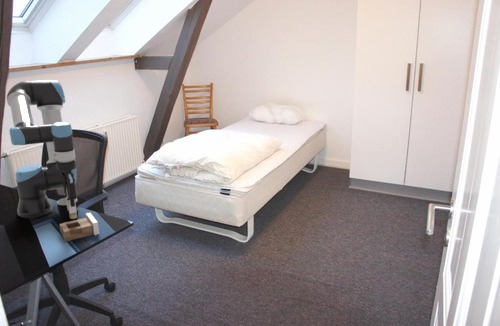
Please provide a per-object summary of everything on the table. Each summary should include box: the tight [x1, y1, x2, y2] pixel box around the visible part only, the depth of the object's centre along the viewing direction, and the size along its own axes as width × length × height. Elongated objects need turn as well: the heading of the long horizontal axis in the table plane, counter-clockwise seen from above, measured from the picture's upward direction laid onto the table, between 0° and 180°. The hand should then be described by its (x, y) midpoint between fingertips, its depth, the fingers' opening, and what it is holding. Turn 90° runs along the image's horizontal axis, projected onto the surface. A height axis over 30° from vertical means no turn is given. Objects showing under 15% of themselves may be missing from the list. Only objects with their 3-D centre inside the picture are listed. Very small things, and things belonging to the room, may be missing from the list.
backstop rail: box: [85, 212, 100, 236], centre depth 179 cm, size 12×2×6 cm, turn 36°
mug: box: [56, 197, 79, 223], centre depth 187 cm, size 12×9×10 cm
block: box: [59, 217, 94, 242], centre depth 175 cm, size 9×11×4 cm
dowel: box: [66, 188, 78, 219], centre depth 170 cm, size 3×3×14 cm
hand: (72, 211), depth 172 cm, fingers closed on dowel, 3 cm apart
